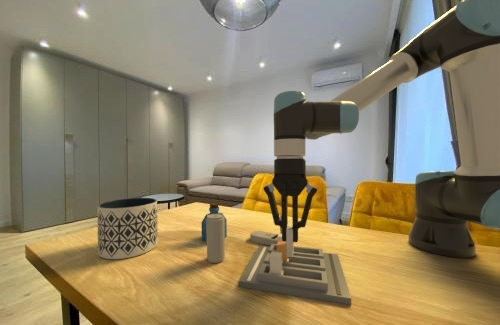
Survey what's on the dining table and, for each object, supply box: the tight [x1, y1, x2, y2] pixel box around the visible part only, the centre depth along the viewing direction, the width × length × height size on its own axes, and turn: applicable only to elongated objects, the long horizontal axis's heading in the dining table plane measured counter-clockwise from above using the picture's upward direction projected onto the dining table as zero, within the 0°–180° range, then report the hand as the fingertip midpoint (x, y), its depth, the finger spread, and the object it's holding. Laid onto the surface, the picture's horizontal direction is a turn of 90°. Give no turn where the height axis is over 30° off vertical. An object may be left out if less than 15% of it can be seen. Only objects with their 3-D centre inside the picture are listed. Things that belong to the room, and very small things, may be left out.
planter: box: [96, 197, 159, 260], centre depth 65 cm, size 16×16×14 cm
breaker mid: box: [277, 242, 289, 262], centre depth 52 cm, size 3×2×5 cm
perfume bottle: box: [201, 202, 228, 243], centre depth 73 cm, size 6×6×12 cm
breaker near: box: [269, 251, 284, 275], centre depth 46 cm, size 3×2×5 cm
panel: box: [238, 244, 352, 306], centre depth 51 cm, size 22×19×3 cm
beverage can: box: [206, 213, 226, 264], centre depth 57 cm, size 5×5×12 cm
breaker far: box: [277, 232, 286, 242], centre depth 58 cm, size 3×2×5 cm
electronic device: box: [249, 214, 282, 247], centre depth 69 cm, size 5×10×15 cm
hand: (290, 254), depth 51 cm, fingers closed
